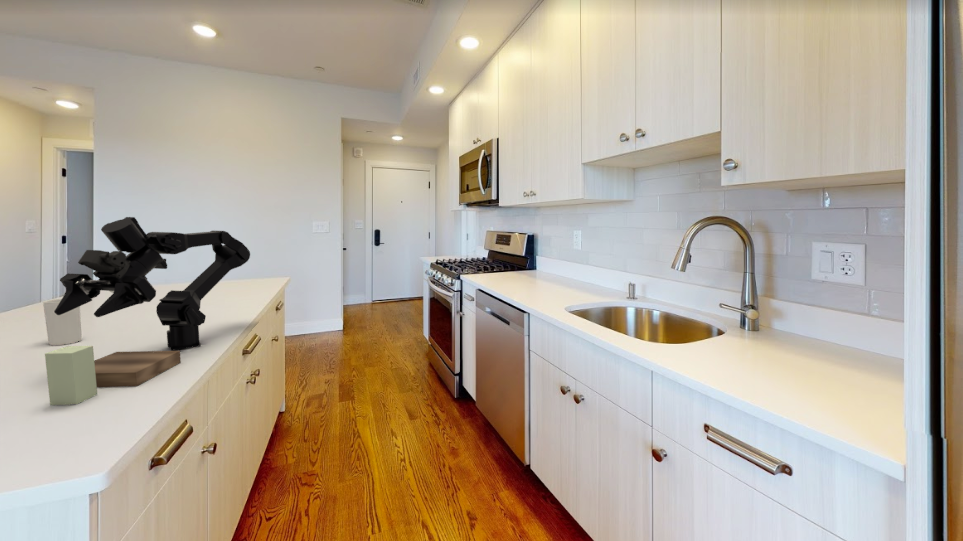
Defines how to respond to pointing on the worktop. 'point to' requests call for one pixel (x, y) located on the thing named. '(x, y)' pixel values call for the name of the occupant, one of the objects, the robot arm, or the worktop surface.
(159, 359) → the base
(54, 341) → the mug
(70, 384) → the block
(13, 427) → the worktop surface
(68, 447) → the worktop surface
